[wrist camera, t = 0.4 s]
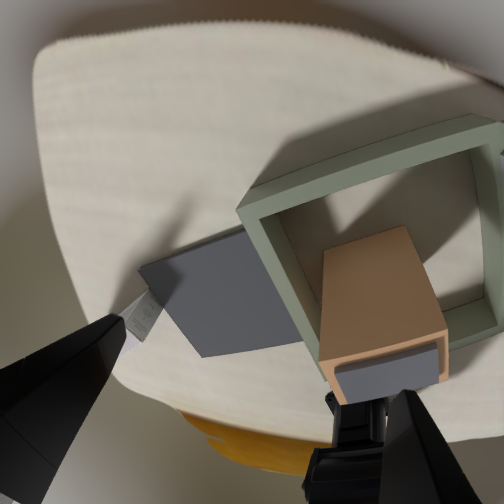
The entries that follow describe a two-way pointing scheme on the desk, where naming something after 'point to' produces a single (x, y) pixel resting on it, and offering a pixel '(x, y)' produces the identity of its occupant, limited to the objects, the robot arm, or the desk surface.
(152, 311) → the ink cartridge box
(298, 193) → the case
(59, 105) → the desk surface
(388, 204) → the desk surface
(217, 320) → the rubber mat
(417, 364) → the box
